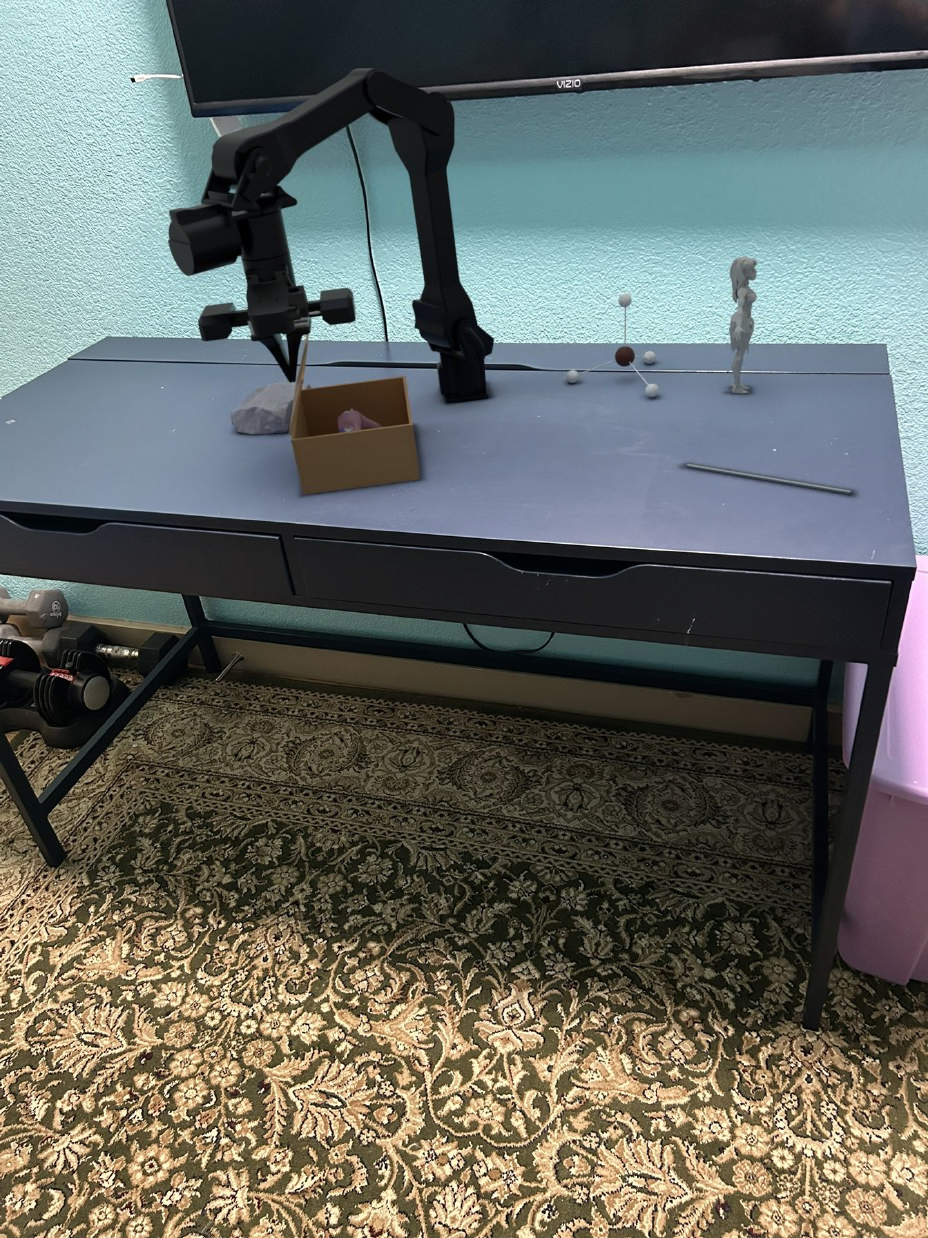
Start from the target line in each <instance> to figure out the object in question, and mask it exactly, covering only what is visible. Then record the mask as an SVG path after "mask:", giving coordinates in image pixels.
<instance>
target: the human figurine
mask: <svg viewBox="0 0 928 1238" xmlns="http://www.w3.org/2000/svg"><path fill="white" fill-rule="evenodd" d="M757 265H758V261H757V259H756V258H754V257H748V256H746V255H743V256H739V257H737V258H735V259H733V261H732V263H731V266H730V268H729V278H730V281H731V287H732V294H731V295H732V296H731V297H732V301H733V302H734V303H735V304H737V307H736V308H735V310H736V311H735V312H734V313H732V315H731V316H730V322H729V324H730V325H729V327H728V333H729V339H730V343H729V344H730V348H731V349H730V350H731V352H732V353H734V352H735V351H737V352H736V353H735V355H734V356H733V360H732V362H731V372H732V375H733V379H734V380H733V381H734V382H733V383H731V387H732V388H730V391H731V392H732V393H733V394H748V393H749V390H750V388H749V387H748V386H745V385H744V384H742V383H741V373H742V366H743V362H744V356H745V353H747V354H749V352H750V342H751V338H752V336H753V334H754V330H755V320H754V318H753V317H752V308H753V304H754V303H756V301H757V299H758V296H757V293H756V291H755V290H753V289H752V288H751V287H750V281H755V280H756V278H757V273H758V271H757V269H756V268H755V267H756V266H757Z"/></svg>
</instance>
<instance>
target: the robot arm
mask: <svg viewBox="0 0 928 1238" xmlns="http://www.w3.org/2000/svg"><path fill="white" fill-rule="evenodd" d="M365 115H368V116H370V117H371V119H373V120H375V121H376V122H378V123H380V124H381V125H384V126H386V127H387V128H388V130H389V134H390V138H391V142H392V145H393V148H394V151H395V153H396V154H397V156H398V157H399V159H400V162H401V163H402V165H403V166H404V168H405V169H406V171H407V175H408V177H409V184H410V185H409V186H410V192H411V199H412V206H413V212H414V220H415V227H416V233H417V235H416V236H417V241H418V248H419V256H420V262H421V269H422V275H423V276H422V277H423V289H422V292H421V294H420V296H419V298H418V299H412V301H411V307H412V311H413V314H414V326H413V328H414V329H415V330H416V329H417V330H418V333H419V336H420V337H421V339H423V340H424V341H425V342H426V343H427V344H428V346H429V348H430V351H431V352H434V353H435V352H436V353H438V354H439V361H438V362H437V363H436V369H437V378H438V379H437V380H438V386H439V392H440V395H441V396H443V398H444V401H445V403H454V402H463V401H469V400H470V401H471V400H478V399H485V398H489V397H490V393H489V390H488V386H487V375H486V365H485V364H486V363H485V360H486V357H487V356H489V355H492V353H493V349H494V343H495V338H494V337H493V336H492V335H490V334H489V333H488V332H487V331H485V330H484V328H482V327H481V326H480V325H479V324H478V318H477V316H476V311H475V308H474V302H473V301H472V299H471V298H470V296H469V294H468V293H467V291H466V289H465V288H464V286H463V284H462V282H461V278H460V272H459V262H458V254H457V248H456V247H457V246H456V245H457V244H456V237H455V230H454V229H455V228H454V220H453V211H452V204H451V196H450V188H449V179H448V165H449V163H450V159H451V156H452V154H453V151H454V148H455V144H456V142H455V141H456V139H455V138H456V137H455V136H456V135H455V134H456V129H455V127H456V117H455V116H456V115H455V110H454V105H453V103H452V101H451V100H450V99H449V98H447V97H446V96H445V94H443V93H441V92H439V91H425V90H423V89H422V88H419V87H417V86H414V85H412V84H410V83H407V82H404V81H403V80H399V79H397V78H395V77H393V76H391V75H389V74H387V73H386V72H385V71H383V70H381V69H380V68H374V67H373V68H371V67H370V68H369V67H368V68H364V67H363V68H361V67H360V68H355V69H352V70H351V71H350V72H349V73H348V74H347V75H346V76H345V77H343V78H342V79H340V80H339V81H337V82H335V83H334V84H332V85H330V86H329V87H327V88H325V89H323V90H322V91H320V92H319V93H317V94H316V95H314V96H312V97H310V98H309V99H307V100H306V101H304V102H302V103H301V104H299V105H297V106H296V107H294V108H293V109H291V110H289V111H288V112H286V113H284V114H282V115H281V116H279V117H278V118H276V119H274V120H271V121H267V122H264V123H260V124H256V125H252V126H251V125H250V126H248V127H247V126H246V127H244V128H241V129H238V130H235V131H232V132H229V133H226V134H223V135H221V136H220V137H219V138H218V139H217V140H215V142H214V143H213V144H212V152H211V157H210V158H211V169H210V171H209V175H208V178H207V182H206V185H205V187H204V190H203V194H202V196H201V199H200V203H201V204H198V205H194V206H193V205H192V206H190V207H177V208H173V209H170V210H168V211H169V212H168V214H169V218H170V221H171V222H170V223H169V225H168V240H167V243H168V247H169V251H170V253H171V256H172V258H173V261H174V263H175V264H176V266H177V267H178V269H179V271H181V273H182V274H184V275H185V276H187V277H191V276H194V275H199V274H202V273H206V272H209V271H212V270H216V269H219V268H223V267H227V266H230V265H233V264H235V263H236V262H237V260H238V258H239V257H240V259H241V265H242V268H243V272H244V276H245V280H246V294H245V300H246V304H247V306H246V307H247V308H245V309H239V310H238V309H236V306H235V304H234V302H233V301H232V302H224V303H216V304H210V305H205V306H204V307H203V309H202V310H201V311H202V312H201V313H200V315H199V318H198V319H197V326H198V330H199V335H200V337H201V341H202V342H213V341H220V340H228V338H229V337H230V336H231V334H232V333H233V331H234V329H233V328H240V327H241V328H242V327H248V329H249V332H250V336H249V338H250V340H251V342H254V343H255V342H259V343H261V344H262V345H263V346H264V347H265V348H266V349H267V351H269V353H270V354H271V355H272V357H273V358H274V360H275V361H276V364H278V367H279V368H280V369H281V372H282V373H283V374H284V376H285V378H286V380H287V381H288V382H289V383H296V381H297V374H298V362H299V351H300V346H301V342H302V339H303V336H306V335H308V334H309V335H310V334H311V332H312V331H311V330H312V322H313V321H312V320H313V319H312V318H319V317H321V319H322V321H324V322H325V323H326V324H327V325H329V326H337V325H345V324H351V323H353V322H356V321H357V318H356V317H357V316H356V315H357V313H356V311H357V309H356V304H355V297H354V292H353V291H352V290H351V289H350V288H349V287H340V288H333V289H332V288H331V289H326V290H320V295H319V299H315V300H308V296H307V292H306V289H305V286H304V284H301V285H297V282H296V276H295V272H294V271H295V270H294V267H293V262H292V257H291V251H290V247H289V242H288V236H287V232H286V228H285V227H286V226H285V222H284V221H285V220H284V216H283V211H282V210H283V209H284V210H285V209H288V208H291V207H295V206H297V205H298V199H297V198H295V197H294V196H292V195H291V194H289V193H288V192H287V191H285V190H284V188H283V187H282V186H281V185H279V184H280V183H281V182H282V181H283V180H284V179H286V177H287V176H288V175H289V174H290V173H291V172H292V171H293V169H294V167H295V165H296V163H297V162H298V161H299V159H300V158H301V157H302V156H303V155H305V154H306V153H307V152H309V151H310V150H311V149H314V148H315V147H316V146H319V144H321V143H322V142H324V141H326V140H327V139H329V138H330V137H332V136H333V135H336V134H337V133H339V132H340V131H342V130H343V129H345V128H347V127H348V126H349V125H351V124H353V123H354V122H356V121H357V120H359V119H361V118H362V117H364V116H365ZM231 190H232V191H235V192H231ZM282 335H285V338H286V343H287V351H286V347H285V344H284V341H283V336H282Z"/></svg>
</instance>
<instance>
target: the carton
mask: <svg viewBox="0 0 928 1238" xmlns="http://www.w3.org/2000/svg"><path fill="white" fill-rule="evenodd" d="M351 409H353V410H354V411H358V412H359V413H361V414H362V415H363V416H365V417H366V418H368V419H370V420H372V421H374V422H376V423H378V424H379V425H381V426H382V427H381V428H374V429H366V430H359V431H351V432H343V433H340V431H339V428H338V417H339V416H340V415H341V414H342V413H344V412H345V411H351ZM414 430H415V429H414V424H413V418H412V410H411V404H410V397H409V389H408V384H407V377H406V375H403V376H395V377H386V378H378V379H371V380H363V381H355V382H348V383H340V384H332V385H323V386H317V387H311V388H308V389H302V390H301V395H300V399H299V404H298V408H297V413H296V417H295V422H294V426H293V431H292V435H291V437H290V442H291V447H292V451H293V456H294V460H295V464H296V469H297V475H298V479H299V484H300V488H301V491H302V495H303V496H305V495H312V494H320V493H327V492H329V493H330V492H336V491H343V490H350V489H351V490H352V489H357V488H366V487H367V488H368V487H374V486H380V485H389V484H395V483H397V484H398V483H403V482H411V481H418V480H421V477H420V468H419V462H418V454H417V446H416V445H417V444H416V438H415V431H414Z"/></svg>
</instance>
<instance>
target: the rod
mask: <svg viewBox="0 0 928 1238" xmlns="http://www.w3.org/2000/svg"><path fill="white" fill-rule="evenodd" d="M686 468H687V469H690V470H697V471H701V472H709V473H714V474H720V475H725V476H732V477H738V478H744V479H751V480H756V481H761V482H767V483H774V484H780V485H785V486H792V487H797V488H803V489H809V490H815V491H822V492H827V493H833V494H839V495H844V496H851V495H852V494H853V491H852V489H849V488H843V487H837V486H830V485H825V484H818V483H812V482H805V481H799V480H794V479H788V478H781V477H775V476H769V475H763V474H757V473H752V472H751V473H750V472H746V471H738V470H734V469H733V470H732V469H726V468H720V467H714V466H709V465H703V464H697V463H690V462H688V463H687V464H686Z"/></svg>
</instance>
